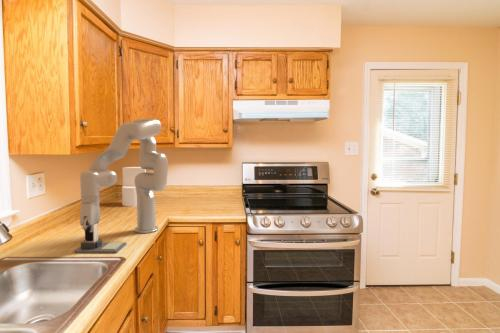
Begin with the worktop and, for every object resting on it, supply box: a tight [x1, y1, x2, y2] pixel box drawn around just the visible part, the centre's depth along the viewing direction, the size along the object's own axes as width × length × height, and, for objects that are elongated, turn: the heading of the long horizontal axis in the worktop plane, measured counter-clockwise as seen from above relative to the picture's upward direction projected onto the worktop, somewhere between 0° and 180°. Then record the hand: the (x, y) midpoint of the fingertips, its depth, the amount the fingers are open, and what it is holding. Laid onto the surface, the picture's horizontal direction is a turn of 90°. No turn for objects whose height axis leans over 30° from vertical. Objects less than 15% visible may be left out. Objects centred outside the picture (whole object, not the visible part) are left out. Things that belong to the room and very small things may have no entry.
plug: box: [85, 222, 99, 243], centre depth 148 cm, size 4×4×10 cm
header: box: [74, 238, 127, 254], centre depth 149 cm, size 12×18×4 cm, turn 91°
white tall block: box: [121, 166, 147, 207], centre depth 252 cm, size 17×17×28 cm
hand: (91, 238), depth 149 cm, fingers closed on plug, 4 cm apart
